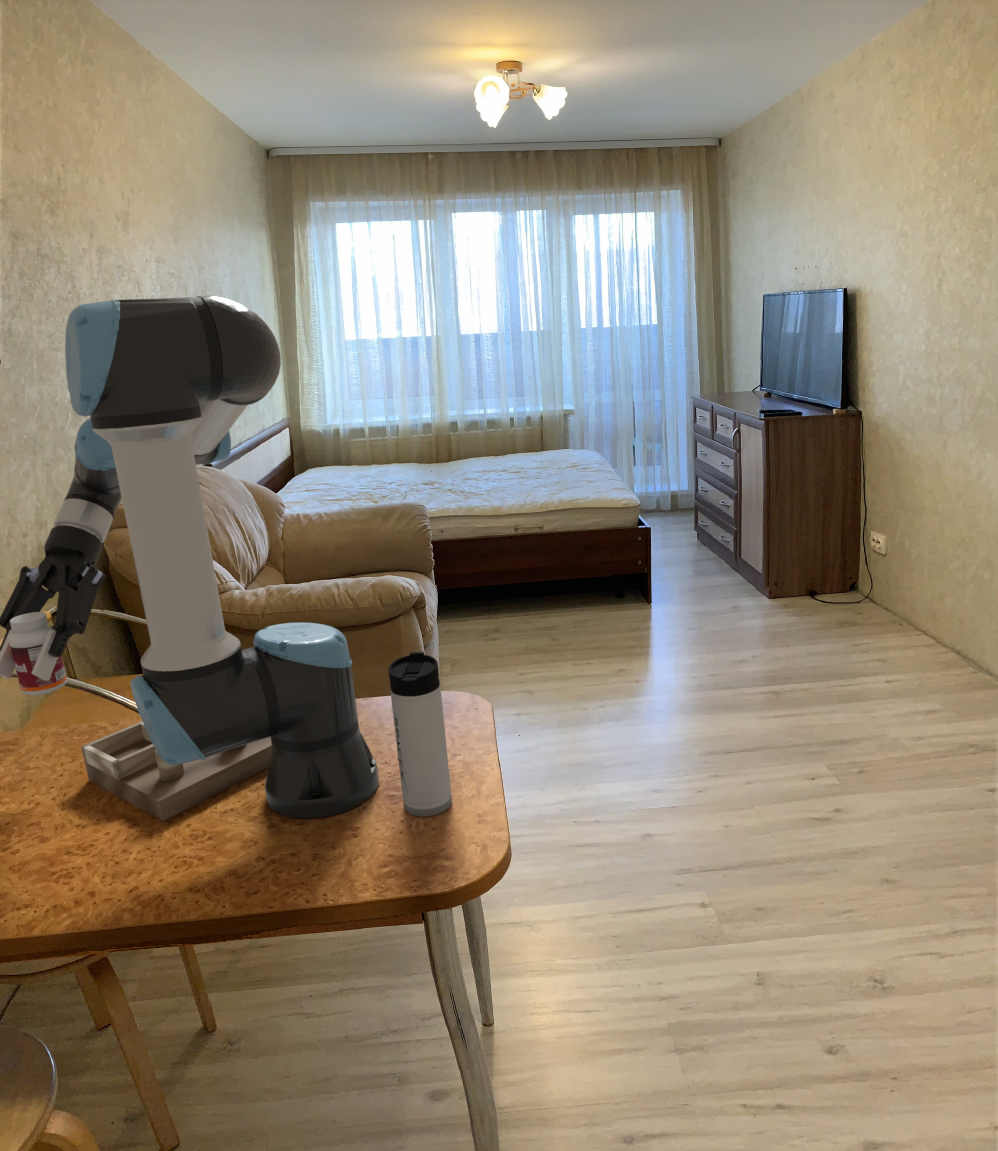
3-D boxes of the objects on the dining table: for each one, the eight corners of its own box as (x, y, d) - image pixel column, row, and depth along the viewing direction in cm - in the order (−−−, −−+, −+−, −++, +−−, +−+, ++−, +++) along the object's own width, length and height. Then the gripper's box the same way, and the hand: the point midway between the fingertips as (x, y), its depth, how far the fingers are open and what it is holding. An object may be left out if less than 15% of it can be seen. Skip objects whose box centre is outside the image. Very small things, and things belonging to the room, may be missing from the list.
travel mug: (455, 790, 118) (441, 650, 112) (448, 817, 112) (433, 670, 106) (409, 791, 119) (393, 652, 113) (399, 818, 112) (382, 672, 107)
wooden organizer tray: (286, 757, 131) (279, 714, 129) (163, 821, 116) (153, 773, 114) (208, 726, 143) (201, 686, 141) (88, 780, 128) (79, 736, 126)
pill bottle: (17, 688, 130) (-1, 618, 127) (61, 676, 134) (45, 607, 131) (26, 700, 125) (8, 627, 122) (72, 687, 129) (56, 615, 126)
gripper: (145, 547, 136) (93, 688, 126) (44, 547, 142) (-14, 683, 131) (115, 522, 130) (57, 668, 119) (10, 523, 135) (-53, 663, 125)
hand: (20, 675), depth 125 cm, fingers closed on pill bottle, 6 cm apart
